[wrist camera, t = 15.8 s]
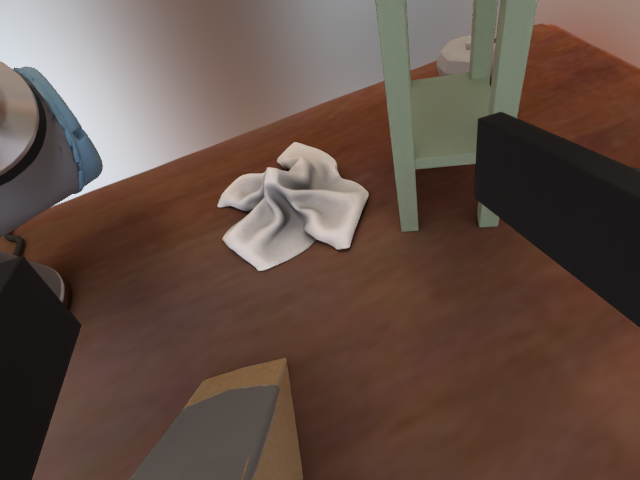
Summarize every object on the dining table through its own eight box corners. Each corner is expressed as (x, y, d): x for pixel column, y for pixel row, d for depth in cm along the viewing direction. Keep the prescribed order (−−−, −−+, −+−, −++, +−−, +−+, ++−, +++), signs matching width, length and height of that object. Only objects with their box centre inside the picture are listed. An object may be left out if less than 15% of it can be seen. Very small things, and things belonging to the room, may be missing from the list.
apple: (435, 106, 54) (435, 61, 49) (436, 76, 59) (436, 32, 54) (498, 101, 52) (504, 52, 47) (494, 70, 56) (499, 23, 52)
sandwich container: (289, 355, 36) (220, 260, 24) (316, 571, 25) (220, 579, 14) (201, 379, 36) (94, 296, 25) (193, 600, 26) (7, 628, 15)
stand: (500, 228, 39) (566, -131, 19) (399, 233, 42) (362, -78, 21) (481, 141, 48) (513, -169, 27) (398, 150, 50) (372, -128, 30)
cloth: (391, 235, 42) (385, 195, 37) (229, 295, 42) (202, 261, 37) (333, 129, 56) (324, 90, 52) (213, 173, 56) (193, 138, 52)
